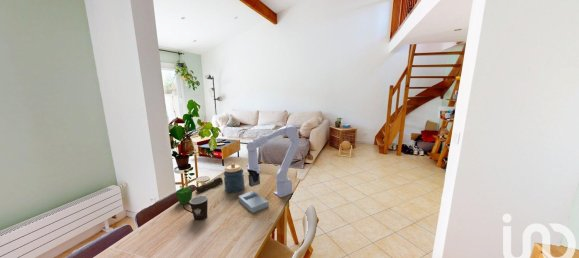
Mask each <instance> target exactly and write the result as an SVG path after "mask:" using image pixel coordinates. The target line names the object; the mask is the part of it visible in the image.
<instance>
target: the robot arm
mask: <svg viewBox="0 0 579 258" xmlns="http://www.w3.org/2000/svg"><path fill="white" fill-rule="evenodd" d="M279 136H283V137H288V139H289V140H290V145H289V147H288V149H287V151H286V154H285V156H284V158H283V161H282V163H281V165H280V167H278V169H277V171H276V175H275V176H276V177H275V182H276V183H275V184H276V188H275V189H276V191H273V194H275V195H276V196H277V197H280V198H283V197H286V196H288V195H290V194H293V193H294V192H293V182H292V180H291V178H289V177H287V175H288V171H289V168H290V165H291V164H292V161H293V159H294V156H295V155H296V152H297V150H298V147H299V145H300V137H299V132H298V129H297V127H296V126H295V125H294V124H292V123H290V124H287V125H285V126H282V127H280V128H279V129H275V130H274V131H273V132H270V133H269V134H267V135H266V134H260V135H259V136H258V137H256V138H252V140H249V141H248V142H247V144H246V149H247V159H248V163H246V167H247V168H246V169H247V172H248V175H249V174H252V176H253V180H254V182H257V181H258V177H260V174H261V173H262V169H261V168H260V166H259V159H258V158H259V157H258V148H261V147H263V146H264V145H267V144H269V141H270V140H273V139H275V138H277V137H279Z"/></svg>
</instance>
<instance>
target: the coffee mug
mask: <svg viewBox="0 0 579 258" xmlns="http://www.w3.org/2000/svg"><path fill="white" fill-rule="evenodd" d="M208 199H209V198H208V196H207V195H203V194H202V195H197V196H194V197H192V199H191V200H190V201H189V202H188V203H185V204H182V208H183V209H184V210H185V211H186V212H189V213H191V214H192V216H193V219H194V221H195V222H196V221H197V222H201V221H204V220H206V218H207V217H208V203H209V201H208ZM185 205H189V206H190V208H191V210H189V209H187V208H186V207H185Z"/></svg>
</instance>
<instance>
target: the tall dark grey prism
mask: <svg viewBox="0 0 579 258" xmlns="http://www.w3.org/2000/svg"><path fill="white" fill-rule="evenodd" d="M258 185H261V180H260V176H259V177H258V181H257V182H254V180H253V176H252V174H249V173H248V186H249V187H251V188H252V187H255V186H258Z"/></svg>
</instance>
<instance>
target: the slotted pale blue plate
mask: <svg viewBox="0 0 579 258" xmlns="http://www.w3.org/2000/svg"><path fill="white" fill-rule="evenodd" d="M238 202H239V203H241V204H242V205H243V206H244V208H246V209H247V210H248V211H249V212H251V214H254V213H255V212H258V211H261V210H264V209H266V208H268V207H269V201H268V200H267V199H266V198H264V197H262V195H260V194H258V193H257V192H256V191H254V190H252V191H249V192H246V193H243V194H241V195H238Z"/></svg>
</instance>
